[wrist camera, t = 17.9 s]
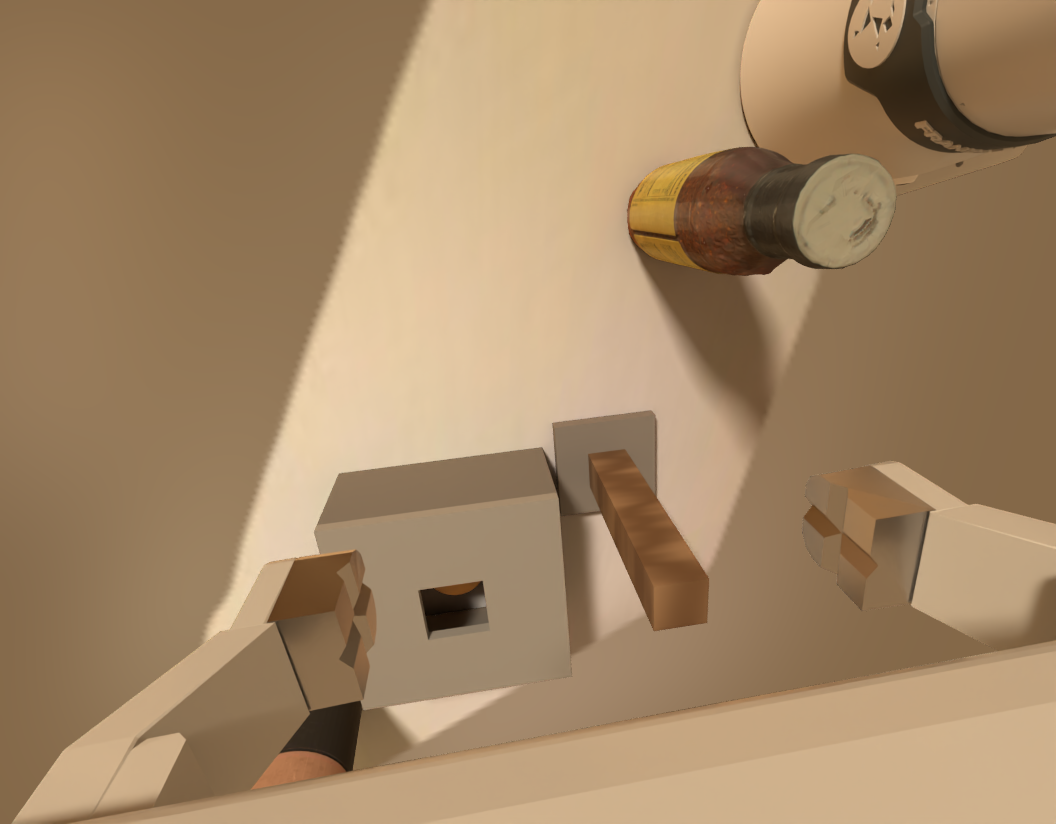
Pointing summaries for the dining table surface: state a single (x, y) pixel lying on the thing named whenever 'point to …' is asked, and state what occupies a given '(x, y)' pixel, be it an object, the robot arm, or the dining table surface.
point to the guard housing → (456, 572)
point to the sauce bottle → (762, 211)
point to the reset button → (457, 588)
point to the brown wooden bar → (648, 543)
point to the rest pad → (593, 438)
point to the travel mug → (317, 747)
